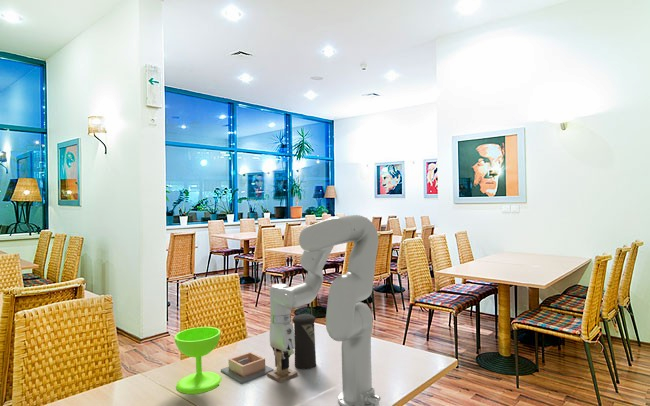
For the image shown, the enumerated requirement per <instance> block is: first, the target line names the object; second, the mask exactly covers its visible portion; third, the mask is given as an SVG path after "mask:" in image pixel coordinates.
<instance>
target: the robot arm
mask: <svg viewBox="0 0 650 406" xmlns="http://www.w3.org/2000/svg"><path fill="white" fill-rule="evenodd" d="M352 242H353V245H352V248H351V251H350V252H349V253H350V254H349V257H348V264H347V270H346V272H345V273H344V274H342V275H339V276H337V277H335V279H333V280H332V281H331V283H330V285H329V290H328V294H327V295H328V296H327V305H326V314H325V327H326V332H327V334H328V335H329V337H330V338H331V339H332V340H333V341H336V342H341V377H342V378H341V379H342V382H341V383H342V384H341V385H342V391H341V392H340V393H338V396H337V402H338V403H339V405H340V406H379V404H380V401H381V396H379V395H377V394H376V393H375V392H376V390H375V388H374V387H373V382H372V380H373V378H372V333H373V326H374V325H373V323H374V317H373V312H372V309H371V308H370V307H369V305H368V304H366V303H364V302H362V301H364V300H366V299H368V298H370V297H371V295H372V293H373V288H374V279H375V272H376V259H377V254H378V249H379V248H378V247H379V233H378V230H377V228H376V226H375V224H374V223H373V222H372V221H371V220H370V219H369V218H368V217H365V216H363V215H358V214H351V215H350V214H349V215H342V216H334V217H329V218H327V219H324V220H322V221H318V222H316V223H313V224H310V225H307V226H305V227H304V228H303V229H302V230H301V232H300V234H299V237H298V244H299V246H300V247H301V249H302V250H303V252H302V255H301V257H300V259H299V263H300V265H301V267H302V268H303V269H304V270H305V271H306V272H307V274H306V276H305V279H304V280H303V282H302V283H300V284H298V285H296V284H295V285H294V286H289V285H288V284H286V283H275V284H273V285H271V286H270V288H269V305H270V306H269V307H270V308H269V309H270V313H269V314H270V324H269V346H270V347H271V348H272V351H273V356H274V365H275V366H274V367H275V368H277V366H276V351H279V350H281V351H282V359H281V369H282V370H285V369H287V368H289V369H290V357H291V355H293V354H294V355H295V337H294V323H293V321H292V311H291V310H295V309H297V308H300V307H302V306H305V305H308V304H311V303H312V302H313V301H314V300H315V299H316V297H317V296H318V294H319V292H320V290H321V288H322V286H323V282H324V272H323V269H324V267H325V264H326V263H327V260H328V258H329V256H330V254H331V252H332V251H333V248H334V247H335V246H337V245H343V244H348V243H352ZM285 352H287V353H286V354H285Z"/></svg>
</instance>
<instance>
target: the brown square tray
mask: <svg viewBox="0 0 650 406" xmlns="http://www.w3.org/2000/svg"><path fill="white" fill-rule="evenodd" d="M266 375H267V377H269V378H270V379H272V380H275V381H277V382H278V383H283V382H285V381H287V380H289V379H293V378H295V377H297V376H298V372H297V371H295V370H293V369H291V368H290V367H289V368H288V374H287V375H284V376H282V377H280V376H278V375H277V368H276V369H274V371H271V372H269V373H267V374H266Z"/></svg>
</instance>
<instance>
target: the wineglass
mask: <svg viewBox="0 0 650 406" xmlns="http://www.w3.org/2000/svg"><path fill="white" fill-rule="evenodd" d="M221 332H222V331H221V329H220V328H218V327H215V326H197V327H191V328H188V329H184V330H182V331H180V332H177V333H176V334H175V335H174V343H175V345H176V347H177V349H178V351H179V352H181V353H182V354H183V355H185V356H187V357H189V358H195V368H196V369H195V370H196V372H194V373H191V374H188V375H186V376H184V377H182V378H181V379H180V380H179V381H178V382H177V383H176V386H175V389H176V391H177V392H178V393H181V392H182V393H181V394H185V393H186V394H187V395H196V394H202V393H206V392H209V391H212V390H214V389H216V388H218V387H219V386H220V384H221V382H222V376H221V375H219V374H218V373H216V372H212V371H202V370H203V368H202V366H203V365H202V364H203V363H202V357H204V356H207V355H208V354H210V353H211V352H212V351H213V350H215V348H216V347H217V345H218V344H219V342H220V339H221Z"/></svg>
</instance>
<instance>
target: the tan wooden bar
mask: <svg viewBox="0 0 650 406" xmlns="http://www.w3.org/2000/svg"><path fill="white" fill-rule="evenodd" d="M286 353H287V352H285V354H286ZM281 359H282V351H281V350H279V351H276V366H277V367H276V369H277V375H278V376H280V377H282V376H284V375H287V374H288V368H287V369H285V370H282V369H281Z"/></svg>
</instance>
